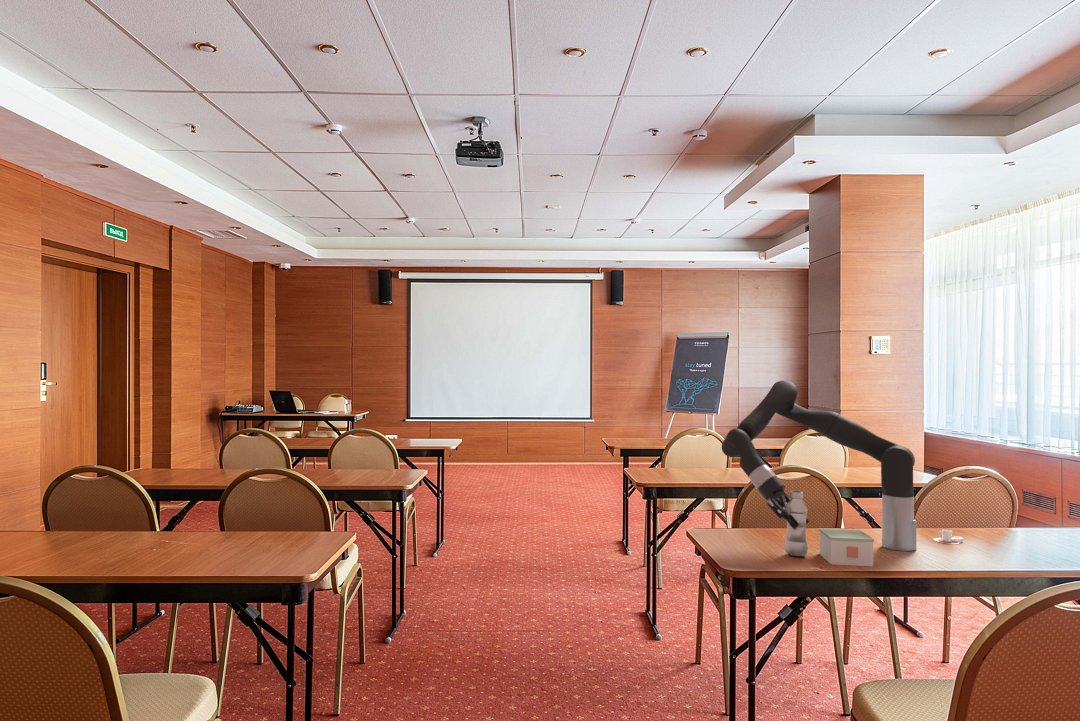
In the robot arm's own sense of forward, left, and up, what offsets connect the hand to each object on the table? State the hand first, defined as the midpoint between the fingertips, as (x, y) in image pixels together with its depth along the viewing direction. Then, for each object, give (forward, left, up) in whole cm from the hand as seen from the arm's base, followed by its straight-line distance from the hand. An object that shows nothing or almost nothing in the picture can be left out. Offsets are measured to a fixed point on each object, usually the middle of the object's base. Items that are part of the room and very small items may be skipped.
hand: (801, 525), depth 208 cm
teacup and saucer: (-57, -27, -10) cm, 64 cm away
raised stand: (-13, +1, -10) cm, 16 cm away
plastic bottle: (+1, -1, -10) cm, 10 cm away
